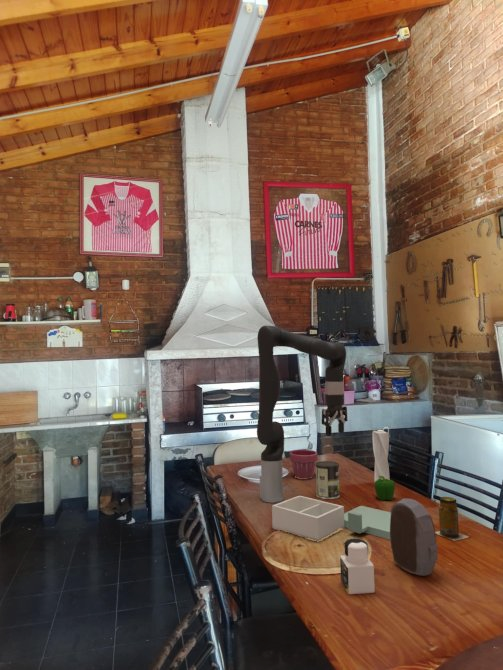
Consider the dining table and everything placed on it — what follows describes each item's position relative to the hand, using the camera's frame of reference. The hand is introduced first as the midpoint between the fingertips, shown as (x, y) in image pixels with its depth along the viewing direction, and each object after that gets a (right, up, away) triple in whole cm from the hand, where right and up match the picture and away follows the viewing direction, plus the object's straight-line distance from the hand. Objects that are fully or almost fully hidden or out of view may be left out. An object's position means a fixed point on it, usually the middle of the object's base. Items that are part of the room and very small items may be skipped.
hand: (334, 434), depth 181 cm
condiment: (+35, -29, -25) cm, 52 cm away
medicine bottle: (-5, -28, -58) cm, 65 cm away
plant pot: (-6, -34, +54) cm, 64 cm away
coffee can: (+1, -32, +22) cm, 39 cm away
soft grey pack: (+14, -28, -49) cm, 58 cm away
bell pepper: (+24, -31, +16) cm, 43 cm away
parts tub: (-13, -30, -16) cm, 37 cm away
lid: (+10, -30, -16) cm, 35 cm away
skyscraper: (+28, -32, +33) cm, 54 cm away
